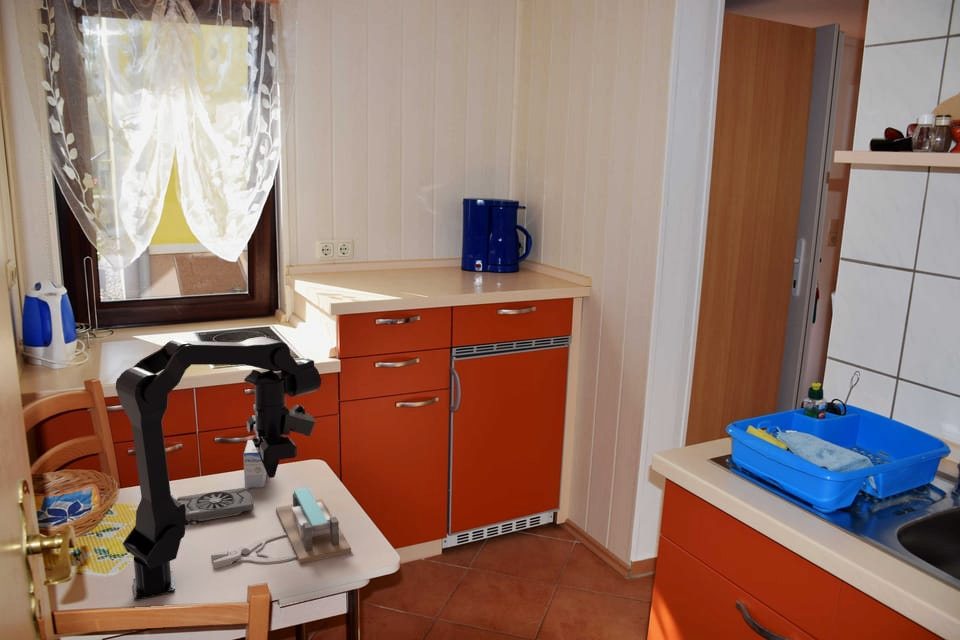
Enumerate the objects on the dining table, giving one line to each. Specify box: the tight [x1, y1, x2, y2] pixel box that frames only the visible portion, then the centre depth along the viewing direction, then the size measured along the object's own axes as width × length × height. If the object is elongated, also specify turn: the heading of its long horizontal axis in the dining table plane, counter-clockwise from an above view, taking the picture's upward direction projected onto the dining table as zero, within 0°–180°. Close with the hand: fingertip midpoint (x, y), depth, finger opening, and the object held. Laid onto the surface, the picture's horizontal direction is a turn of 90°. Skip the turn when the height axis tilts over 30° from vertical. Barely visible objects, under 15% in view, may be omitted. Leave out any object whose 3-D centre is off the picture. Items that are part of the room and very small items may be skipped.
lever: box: [293, 486, 330, 532], centre depth 151 cm, size 17×3×1 cm, turn 26°
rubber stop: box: [292, 493, 300, 507], centre depth 158 cm, size 2×4×5 cm, turn 116°
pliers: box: [210, 532, 297, 569], centre depth 143 cm, size 10×2×15 cm
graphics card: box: [171, 486, 255, 526], centre depth 158 cm, size 17×4×12 cm
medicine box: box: [243, 439, 268, 489], centre depth 173 cm, size 8×4×9 cm, turn 10°
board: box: [275, 498, 352, 565], centre depth 151 cm, size 22×10×6 cm, turn 26°
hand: (271, 476), depth 148 cm, fingers closed
